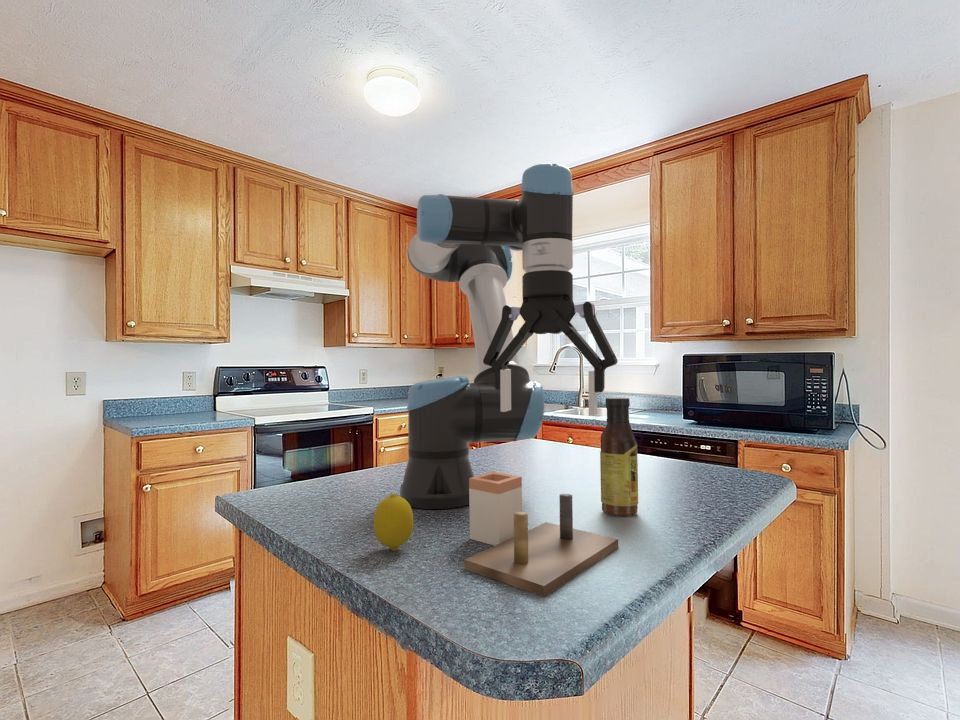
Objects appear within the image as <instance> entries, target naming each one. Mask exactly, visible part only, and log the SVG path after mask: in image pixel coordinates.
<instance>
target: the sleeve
mask: <svg viewBox="0 0 960 720" xmlns="http://www.w3.org/2000/svg"><path fill="white" fill-rule="evenodd" d="M522 481H523V478H522V476H520V475H514V474H509V473H503V472H497V471H490V472H487V473H483V474H479V475H476V476H474V477H472V478H469V504H468V505H469V539H470V540H473V541H477V542H480V543H484V544H488V545H490V546H492V547H493V546H495V545H498V544H500V543H502V542H504V541H506V540H508V539H511V538H513V537H514V513H515V512H523V486H522V484H523V483H522Z"/></svg>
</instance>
